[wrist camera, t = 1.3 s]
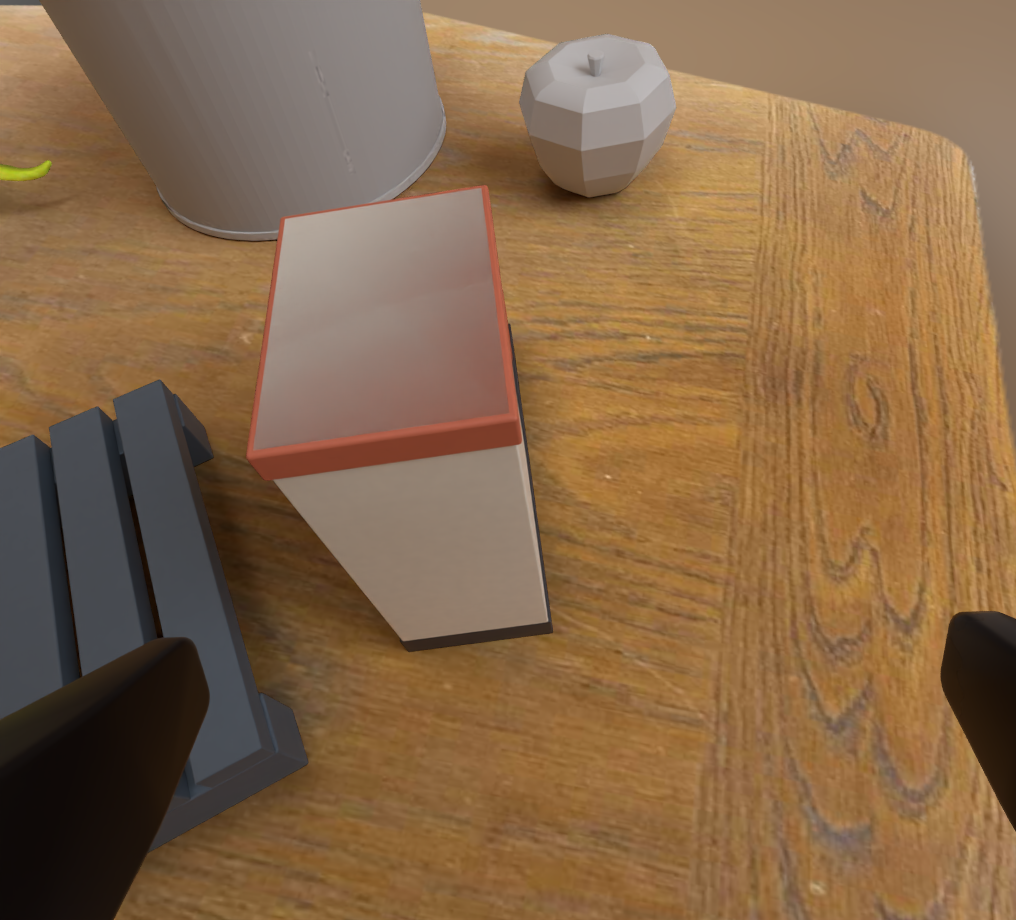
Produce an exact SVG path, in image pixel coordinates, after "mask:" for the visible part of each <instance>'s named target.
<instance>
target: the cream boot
mask: <svg viewBox="0 0 1016 920" xmlns="http://www.w3.org/2000/svg"><path fill="white" fill-rule="evenodd" d="M246 458H247V460H248V462H249V463H250V464H251V465H252V466H253V468H254V469H255V470H256V471H257V472H258V474H259V475H260V476H261V477H262V478H263V480H267V481H269V480H273V481H274V482H275V484H276V485H277V486H278V487H279V489H280V490H281V491H282V492H283V494H284V495H285V496H286V497H287V499H288V500H289V501H290V502H291V503H292V505H293V506H294V507H295V508H296V510H297V511H298V512H299V513H300V515H301V516H302V517H303V518H304V520H305V521H306V522H307V523H308V525H309V526H310V527H311V528H312V529H313V531H314V532H315V533H316V534H317V536H318V537H319V538H320V539H321V541H322V542H323V543H324V544H325V546H326V547H327V548H328V549H329V550H330V552H331V553H332V554H333V555H334V557H335V558H336V559H337V560H338V562H339V563H340V564H341V565H342V567H343V568H344V569H345V570H346V571H347V573H348V574H349V575H350V576H351V578H352V579H353V580H354V581H355V583H356V584H357V585H358V586H359V588H360V589H361V590H362V591H363V593H364V594H365V595H366V596H367V597H368V599H369V600H370V601H371V602H372V604H373V605H374V606H375V607H376V609H377V610H378V611H379V612H380V614H381V615H382V616H383V617H384V618H385V620H386V621H387V622H388V623H389V625H390V626H391V627H392V628H393V630H394V631H395V632H396V633H397V635H398V636H399V637H400V642H401V644H402V645H403V646H404V647H405V648H406V650H407V651H408V652H411V651H419V650H427V649H434V648H442V647H449V646H457V645H465V644H472V643H480V642H487V641H495V640H503V639H510V638H518V637H525V636H533V635H541V634H548V633H553V628H552V620H551V613H550V606H549V599H548V592H547V584H546V577H545V570H544V563H543V556H542V548H541V541H540V534H539V527H538V519H537V512H536V505H535V498H534V491H533V483H532V476H531V469H530V462H529V454H528V447H527V440H526V433H525V426H524V418H523V411H522V404H521V397H520V389H519V382H518V375H517V368H516V361H515V353H514V346H513V339H512V332H511V326H510V324H508V320H507V314H506V307H505V301H504V294H503V290H502V284H501V277H500V270H499V262H498V255H497V247H496V240H495V232H494V225H493V217H492V210H491V204H490V197H489V191H488V187H487V186H486V185H481V186H474V187H468V188H462V189H456V190H449V191H443V192H437V193H430V194H424V195H418V196H411V197H405V198H399V199H392V200H386V201H380V202H374V203H367V204H361V205H355V206H348V207H342V208H336V209H329V210H323V211H317V212H310V213H304V214H298V215H291V216H285V217H282V218H281V219H280V225H279V231H278V238H277V245H276V252H275V259H274V266H273V273H272V280H271V287H270V294H269V300H268V307H267V314H266V321H265V328H264V335H263V342H262V349H261V356H260V363H259V369H258V376H257V383H256V390H255V397H254V404H253V411H252V418H251V425H250V432H249V439H248V445H247V452H246Z"/></svg>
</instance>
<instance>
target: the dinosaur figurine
mask: <svg viewBox="0 0 1016 920" xmlns="http://www.w3.org/2000/svg"><path fill="white" fill-rule="evenodd" d="M51 165H52V163H51V162H50V161H49V160H48V161H45V162H44V163H42V164H41V165H39V166H37V167H33V168H17V167H13V166H9V165H3V164H0V180H8V181H27V180H34V179H37V178H41V177H43V176H45V175H46V174H47V173H48V172H49V170H50V167H51Z"/></svg>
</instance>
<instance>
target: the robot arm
mask: <svg viewBox="0 0 1016 920" xmlns="http://www.w3.org/2000/svg"><path fill="white" fill-rule="evenodd" d="M941 683H942V688H943V691H944V693H945V696H946V698H947V700H948V702H949V704H950V706H951V708H952V710H953V712H954V714H955V716H956V718H957V720H958V722H959V723H960V725H961V727H962V729H963V731H964V733H965V735H966V737H967V739H968V741H969V743H970V745H971V747H972V749H973V751H974V753H975V755H976V757H977V759H978V761H979V763H980V765H981V767H982V769H983V771H984V773H985V775H986V777H987V779H988V781H989V783H990V785H991V787H992V789H993V791H994V792H995V794H996V796H997V798H998V800H999V802H1000V804H1001V806H1002V808H1003V810H1004V812H1005V813H1006V815H1007V817H1008V819H1009V821H1010V823H1011V824H1012V826H1013V828H1014V829H1015V831H1016V619H1015V618H1012V617H1010V616H1008V615H1005V614H1003V613H1000V612H996V611H976V612H959V613H958V614H956V615H954V616H953V618H952V619H951V621H950V624H949V628H948V634H947V639H946V644H945V650H944V655H943V661H942V666H941ZM209 702H210V691H209V686H208V683H207V680H206V677H205V673H204V670H203V667H202V664H201V660H200V657H199V654H198V651H197V648H196V645H195V643H194V642H193V641H192V640H191V639H189V638H187V637H168V638H157V639H154V640H151V641H149V642H148V643H146V644H144V645H142V646H140V647H138V648H136V649H134V650H132V651H130V652H128V653H127V654H125V655H123V656H121V657H119V658H117V659H115V660H113V661H111V662H109V663H107V664H105V665H104V666H102V667H100V668H98V669H96V670H94V671H92V672H90V673H88V674H86V675H84V676H83V677H81V678H79V679H77V680H75V681H73V682H71V683H69V684H67V685H65V686H63V687H62V688H60V689H58V690H56V691H54V692H52V693H50V694H48V695H46V696H44V697H42V698H40V699H39V700H37V701H35V702H33V703H31V704H29V705H27V706H25V707H23V708H21V709H19V710H18V711H16V712H14V713H12V714H10V715H8V716H6V717H4V718H2V719H0V920H114V918H115V916H116V914H117V912H118V910H119V908H120V906H121V904H122V902H123V900H124V898H125V896H126V894H127V892H128V890H129V888H130V886H131V884H132V883H133V881H134V879H135V877H136V875H137V873H138V871H139V869H140V867H141V865H142V863H143V861H144V859H145V857H146V855H147V853H148V851H149V849H150V847H151V845H152V843H153V841H154V839H155V837H156V835H157V833H158V831H159V829H160V826H161V824H162V822H163V819H164V817H165V815H166V813H167V810H168V808H169V805H170V803H171V801H172V798H173V796H174V793H175V791H176V788H177V786H178V783H179V781H180V778H181V776H182V773H183V771H184V768H185V766H186V763H187V761H188V758H189V756H190V753H191V751H192V748H193V746H194V743H195V741H196V738H197V736H198V733H199V731H200V728H201V726H202V723H203V721H204V718H205V716H206V713H207V710H208V707H209Z"/></svg>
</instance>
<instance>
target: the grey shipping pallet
mask: <svg viewBox="0 0 1016 920" xmlns="http://www.w3.org/2000/svg"><path fill="white" fill-rule="evenodd" d="M113 402H114V407H115V412H116V417H117V419H116V420H114V421H112V419H110V418H109V417H108V416H107V415H106V414H105V413H104V412H103V411H102V410H101V409H100V408H99V407H95V408H92V409H90V410H88V411H85V412H83V413H81V414H78V415H76V416H74V417H71V418H69V419H67V420H64V421H62V422H60V423H57V424H55V425H53V426H51V427H49V431H50V438H51V446H52V448H49V447H48V446H47V445H46V444H45V443H43V442H42V441H41V440H40V439H38V438H37V437H36V436H35V435H30V436H28V437H26V438H23V439H21V440H19V441H16V442H14V443H12V444H9V445H7V446H5V447H3V448H0V719H2V718H4V717H6V716H8V715H10V714H12V713H14V712H16V711H18V710H19V709H21V708H23V707H25V706H27V705H29V704H31V703H33V702H35V701H37V700H39V699H40V698H42V697H44V696H46V695H48V694H50V693H52V692H54V691H56V690H58V689H60V688H62V687H63V686H65V685H67V684H69V683H71V682H73V681H75V680H77V679H79V678H80V675H79V667H78V660H77V652H76V644H75V637H74V629H73V622H72V614H71V606H70V599H69V591H68V583H67V576H66V568H65V561H64V553H63V545H62V538H61V530H60V528H63V536H64V543H65V551H66V558H67V566H68V573H69V581H70V588H71V596H72V603H73V611H74V618H75V626H76V633H77V641H78V648H79V656H80V663H81V671H82V677H83V676H84V675H86V674H88V673H90V672H92V671H94V670H96V669H98V668H100V667H102V666H104V665H105V664H107V663H109V662H111V661H113V660H115V659H117V658H119V657H121V656H123V655H125V654H127V653H128V652H130V651H132V650H134V649H136V648H138V647H140V646H142V645H144V644H146V643H148V642H149V641H151V640H154V639H157V634H156V629H155V624H154V619H153V614H152V610H151V605H150V600H149V595H148V590H147V586H146V581H145V576H144V571H143V566H142V561H141V557H140V552H139V547H138V542H137V537H136V532H135V528H134V523H133V518H132V513H131V508H130V504H129V499H128V497H129V496H131V495H133V496H134V501H135V506H136V510H137V515H138V520H139V524H140V529H141V534H142V538H143V543H144V548H145V553H146V557H147V562H148V567H149V571H150V576H151V581H152V585H153V590H154V595H155V599H156V604H157V609H158V614H159V618H160V623H161V628H162V632H163V637H164V638H168V637H187V638H189V639H191V640H192V641H193V642H194V643H195V645H196V648H197V651H198V654H199V657H200V660H201V664H202V667H203V670H204V673H205V677H206V680H207V683H208V686H209V691H210V702H209V707H208V710H207V713H206V716H205V718H204V721H203V723H202V726H201V728H200V731H199V733H198V736H197V738H196V741H195V743H194V746H193V748H192V751H191V753H190V756H189V758H188V761H187V763H186V766H185V768H184V771H183V773H182V776H181V778H180V781H179V783H178V786H177V788H176V791H175V793H174V796H173V798H172V801H171V803H170V805H169V808H168V810H167V813H166V815H165V817H164V819H163V822H162V824H161V826H160V829H159V831H158V833H157V835H156V837H155V839H154V841H153V843H152V845H151V847H150V849H149V851H148V853H149V852H150V851H152V850H154V849H156V848H158V847H159V846H161V845H163V844H165V843H167V842H168V841H170V840H172V839H174V838H176V837H177V836H179V835H181V834H183V833H185V832H186V831H188V830H190V829H192V828H194V827H195V826H197V825H199V824H201V823H203V822H204V821H206V820H208V819H210V818H212V817H214V816H215V815H217V814H219V813H221V812H223V811H224V810H226V809H228V808H230V807H232V806H233V805H235V804H237V803H239V802H241V801H242V800H244V799H246V798H248V797H250V796H251V795H253V794H255V793H257V792H259V791H260V790H262V789H264V788H266V787H268V786H269V785H271V784H273V783H275V782H277V781H278V780H280V779H282V778H284V777H286V776H287V775H289V774H291V773H293V772H295V771H296V770H298V769H300V768H302V767H304V766H305V765H307V764H308V759H307V756H306V753H305V750H304V746H303V743H302V740H301V737H300V734H299V730H298V727H297V724H296V721H295V717H294V714H293V711H292V709H291V708H289V707H287V706H285V705H284V704H282V703H280V702H278V701H276V700H275V699H273V698H271V697H269V696H267V695H266V694H264V693H259V694H258V691H257V687H256V684H255V680H254V677H253V673H252V670H251V666H250V663H249V659H248V656H247V652H246V649H245V645H244V642H243V638H242V635H241V631H240V628H239V624H238V621H237V617H236V614H235V610H234V607H233V603H232V600H231V596H230V593H229V589H228V586H227V582H226V579H225V575H224V572H223V568H222V565H221V561H220V558H219V554H218V551H217V547H216V544H215V540H214V537H213V533H212V530H211V526H210V523H209V519H208V516H207V512H206V509H205V505H204V502H203V498H202V495H201V491H200V488H199V484H198V481H197V477H196V474H195V470H194V466H197V465H199V464H201V463H203V462H205V461H208V460H210V459H212V458H213V454H212V450H211V447H210V444H209V441H208V438H207V434H206V431H205V428H204V426H203V425H202V424H201V423H200V421H199V420H198V419H197V418H196V417H195V416H194V414H193V413H192V412H191V411H190V410H189V409H188V408H187V406H186V405H185V404H184V403H183V402H182V401H181V399H180V398H179V397H178V396H177V395H176V394H172V392H171V391H170V390H169V389H168V388H167V387H166V386H165V384H164V383H163V382H162V381H161V380H157V381H155V382H152V383H150V384H148V385H145V386H143V387H141V388H138V389H136V390H134V391H131V392H129V393H127V394H124V395H122V396H120V397H118V398H115V399H113Z"/></svg>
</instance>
